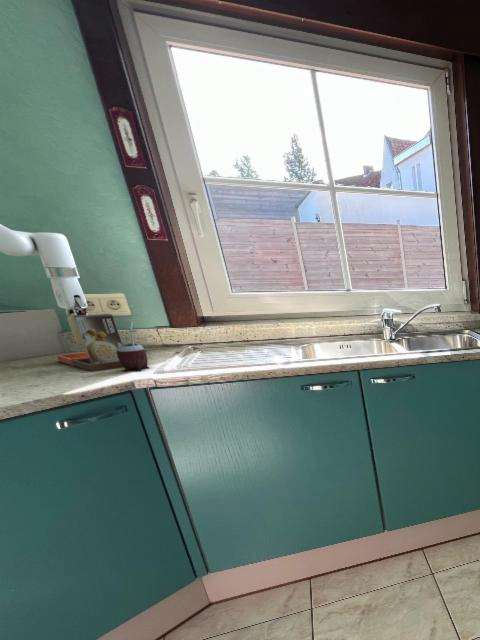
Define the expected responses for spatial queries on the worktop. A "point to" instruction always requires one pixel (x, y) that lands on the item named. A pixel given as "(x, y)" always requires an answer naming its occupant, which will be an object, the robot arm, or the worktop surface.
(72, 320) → the candle
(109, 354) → the coffee box
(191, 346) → the worktop surface
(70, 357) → the terracotta tray
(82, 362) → the walnut tray
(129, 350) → the mate gourd
